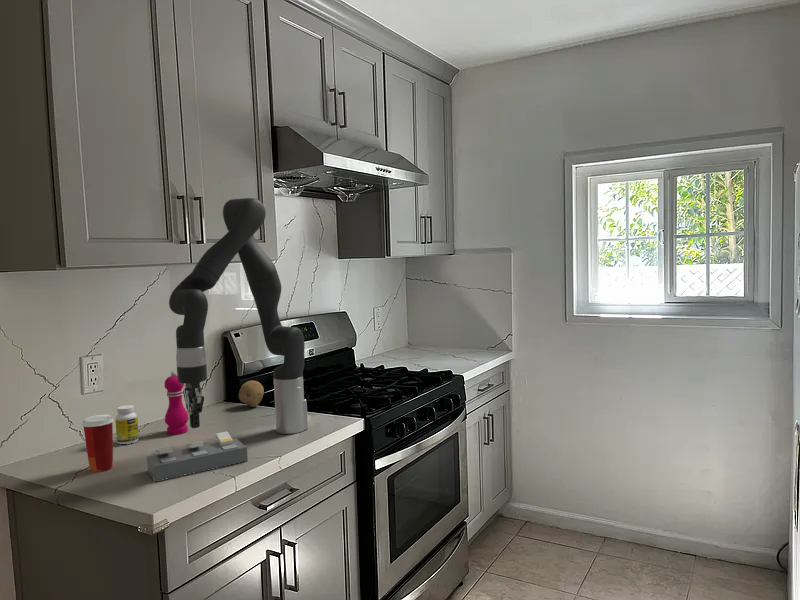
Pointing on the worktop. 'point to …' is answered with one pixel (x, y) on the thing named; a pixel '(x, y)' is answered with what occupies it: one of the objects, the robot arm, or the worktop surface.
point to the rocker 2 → (224, 438)
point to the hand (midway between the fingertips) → (195, 427)
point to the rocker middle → (195, 444)
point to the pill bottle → (126, 425)
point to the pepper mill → (175, 406)
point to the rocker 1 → (164, 450)
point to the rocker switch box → (195, 459)
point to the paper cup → (99, 442)
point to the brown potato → (251, 393)
